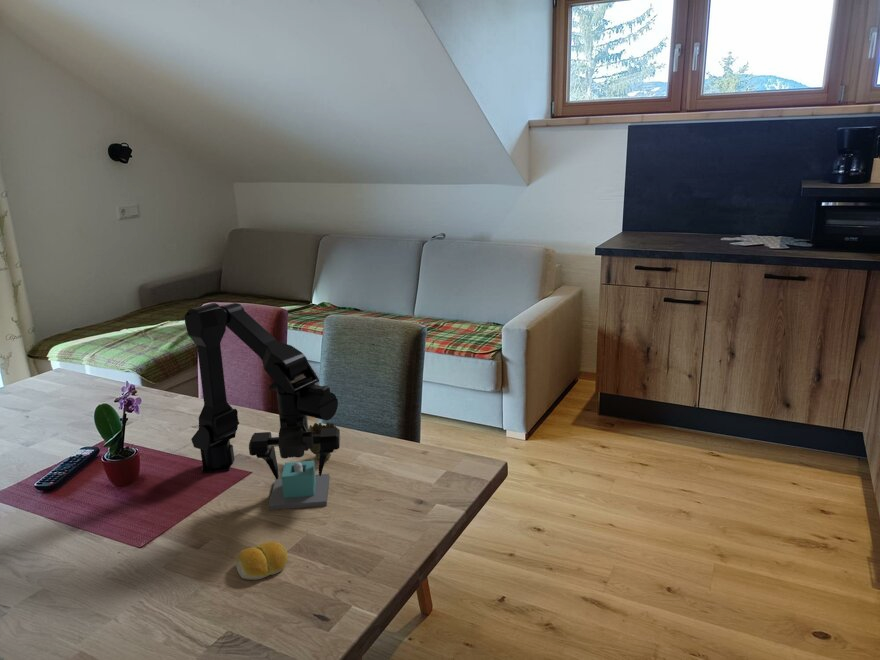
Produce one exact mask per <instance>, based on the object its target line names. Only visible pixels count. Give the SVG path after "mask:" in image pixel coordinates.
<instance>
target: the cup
mask: <svg viewBox="0 0 880 660" xmlns="http://www.w3.org/2000/svg"><path fill="white" fill-rule="evenodd" d="M335 427H337V425H335V424H334V423H333V422H331V423H330V422H326V424H325V425H322V423H321V422H319V423H317V422H315V423H313V425H311V424H310V425H309V426H308V432H312V434H313V435H316V434H321V428H335ZM309 450H310V452H311V453H312V454H313V455H315V456H314V457H315V458H316V459H317V460H318V461H319V457H320V443H318V444H313V449H309ZM331 456H332V455H331V453H329V454H328V455H327V457H326V460H325V461H328V460H329V459H330V458H331Z"/></svg>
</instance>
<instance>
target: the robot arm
mask: <svg viewBox="0 0 880 660" xmlns="http://www.w3.org/2000/svg"><path fill="white" fill-rule="evenodd" d="M184 324H185V329H186V332H187V335H188V337H189V338H190V339H191V340H192V342H193V343H194V344H195V345H196V349H197V355H198V363H199V364H198V365H199V372H200V380H201V390H202V397H203V407H202V409H201V412H200V413H199V416H198V430H197V431H196V432H195V433H194V435H193V436H192V437H191V439H190V440H191V442H192V446H193V447H194V448H195V449H199V450H200V456H201V463H202V467H201V470H200V473H202V472H205V473H215V472H216V471H219V472H228V471H230V469H231V467H232V465H233V464H234V461H235V451H234V446H233V444H231V440H233V439H234V438H236V434H237V431H238V427H239V425H240V421H239V419H238V413H239V412H238V410H237V409H236V408H233V407H232V406H231V404H229V403H228V400H227V392H226V391H227V389H226V382H225V373H224V366H223V365H224V364H223V354H222V348H221V342H222V339H223V337H224V335H225V333H226V331H227V328H228V329H229V330H230V331H231V332H232V333H234V335H235V336H237V338H238V339H240V340H241V341H242V342H243V343H244V344H246V346H247V347H248V348H250V349H251V350H252V351H253V352H254V353H255V354H256V355H257V356H258V357H259V358H260V360H262V364H263V365H262V366H263V369H264V371H265V372H266V373H267V374H268V376H269V378H271V379H272V380H273V382H272V383H270V384H269V386H268V389H270V390H273V391H276V395H277V396H276V397H277V406H278V415H279V416H278V417H279V431H278V436H275V437H274V436H273V437H272V432H271V431H267V432H266V431H263V432H254V433H253V434H252V436H251V438H250V440H249V443H248V451H249V452H248V453H249V455H250V456H255V457H256V458H257V459H262V460H264V461H265V463H267V465H268V467H269V469H270V470H271V473H272V474H273V476H274V479H278V478H280V477H279V467H278V466H279V465H278V460H277V454H276V451H275V449H276V447H278V450H279V455H280V458H282V459H288V458H297V459H299V458H302V457H303V456H304V455H305V452H307V451H309V450H310V449H313V444H318V443H320V457H319V460H318V461H319V462H318V475H319V476H321V474H323V470H324V466H325V462H326V461H327V460H326V457H327V455H328V454H329V453H334V452H335V450H338V449H340V448H341V447H340V446H341V431H340V428H338V427H337V426H336V427H335V428H321V434H316V435H313V434H312V432H308V428H309V423H308V417H309V418H310V417H311V418H315V419H319V420H323V421H330V420H331V419H333V417H334V416H335V414H336V413H337V410H338V406H339V401H338V400H339V399H338V398H337V396H336V395H335V393H333V392H331V388H330V386H328V385H319V384H317V383H319V382H320V379H319V378H318V376H317V374H316V372H315V370H314V369H313V368H312V366H311V364H310V363H309V361H308V358H307V356H306V355H305V354H304V353H303V352H302V351H300V350H299V349H297V348H296V347H294V346H293V345H291V344H288V343H283V342H281V341H279V340H278V339H276V338H275V337H274V336H273V335H272V334H271V333H270V332H269V331H268V330H266V329H265V328H264V327H263V326H262V325H261V324H260V323H259V322H257V321H256V320H255V319H254V318H253V317H252V316H251V315H249V313H248V312H246V310H245V309H244V307H243V305H242V304H241V303H236V302H232V303H229V304H225V305H219V304H218V303H216V302H212V303H207V304H203V305H201V306H197V307H194V308H190V309H188V310H187V312H186V313H185V314H184ZM303 376H304V378H302V377H303ZM299 378H301V379H299ZM297 379H299V380H297ZM294 380H297V381H294Z"/></svg>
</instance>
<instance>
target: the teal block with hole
mask: <svg viewBox="0 0 880 660" xmlns="http://www.w3.org/2000/svg"><path fill="white" fill-rule="evenodd" d="M297 462H298V461H292V462H291V461H290V462H284V465H283V468H282V472H281V477H282V486H283V496H284V498H289V497H301V496H314V492H315V484H316V476H315V475H316V467H315V464H316V463H315V460H306V461H305V460H304V461H299V462H300V463H301V464H302V468H303V472H294V464H295V463H297Z"/></svg>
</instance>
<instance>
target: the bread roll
mask: <svg viewBox="0 0 880 660" xmlns="http://www.w3.org/2000/svg"><path fill="white" fill-rule="evenodd" d="M288 560H289V555H288V552H287V549H286V548H285V546H284V545H282V544H281V543H279V542H275V541H266V542H265V541H264V542H261V543H260V544H259V543H258V544H257V546H256V545H255V547H247V548H244V549H242V550H241V552H239V554H238V555H237V559H236V565H235V568H236V570H237V573H238V575H239V576H240V577H241V579H244V580H255V581H257V580H261V579H265V578H266V577H269V576H270V575H271V576H273V575H277V574H279V573H280V572H282V571H283V570H284V569H285V567H286V565H287V562H288Z"/></svg>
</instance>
